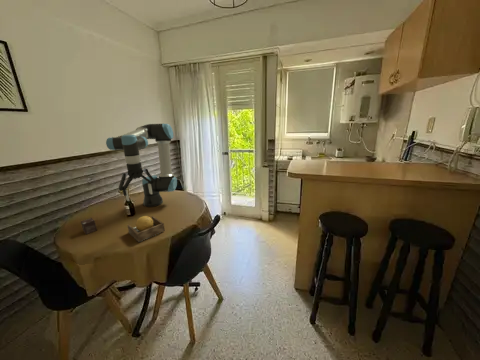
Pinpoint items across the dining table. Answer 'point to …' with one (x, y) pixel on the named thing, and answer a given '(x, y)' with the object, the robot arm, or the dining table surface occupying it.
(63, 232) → the dining table surface
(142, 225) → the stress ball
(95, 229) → the box
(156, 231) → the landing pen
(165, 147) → the robot arm
